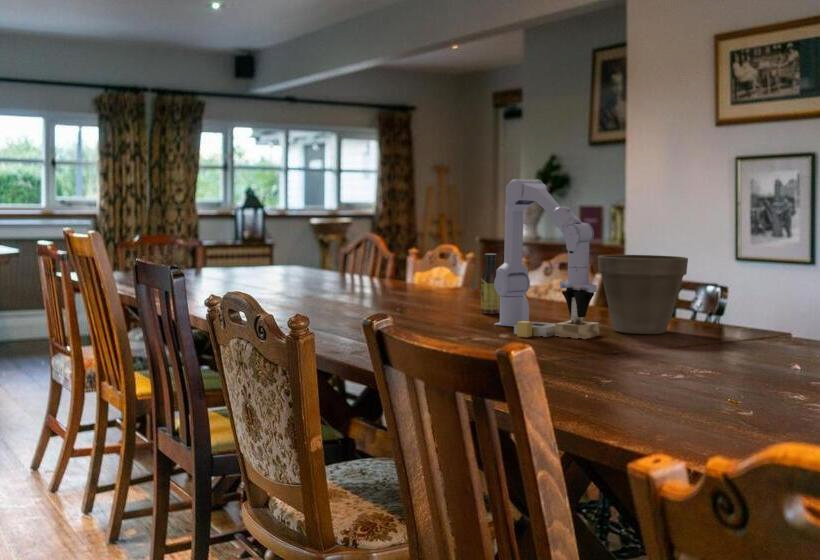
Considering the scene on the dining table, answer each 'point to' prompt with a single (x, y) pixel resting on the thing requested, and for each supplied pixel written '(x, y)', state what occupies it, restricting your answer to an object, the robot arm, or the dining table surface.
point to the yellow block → (524, 329)
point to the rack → (577, 330)
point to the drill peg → (575, 313)
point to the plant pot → (641, 290)
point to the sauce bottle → (489, 286)
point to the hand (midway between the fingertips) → (577, 316)
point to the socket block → (540, 329)
